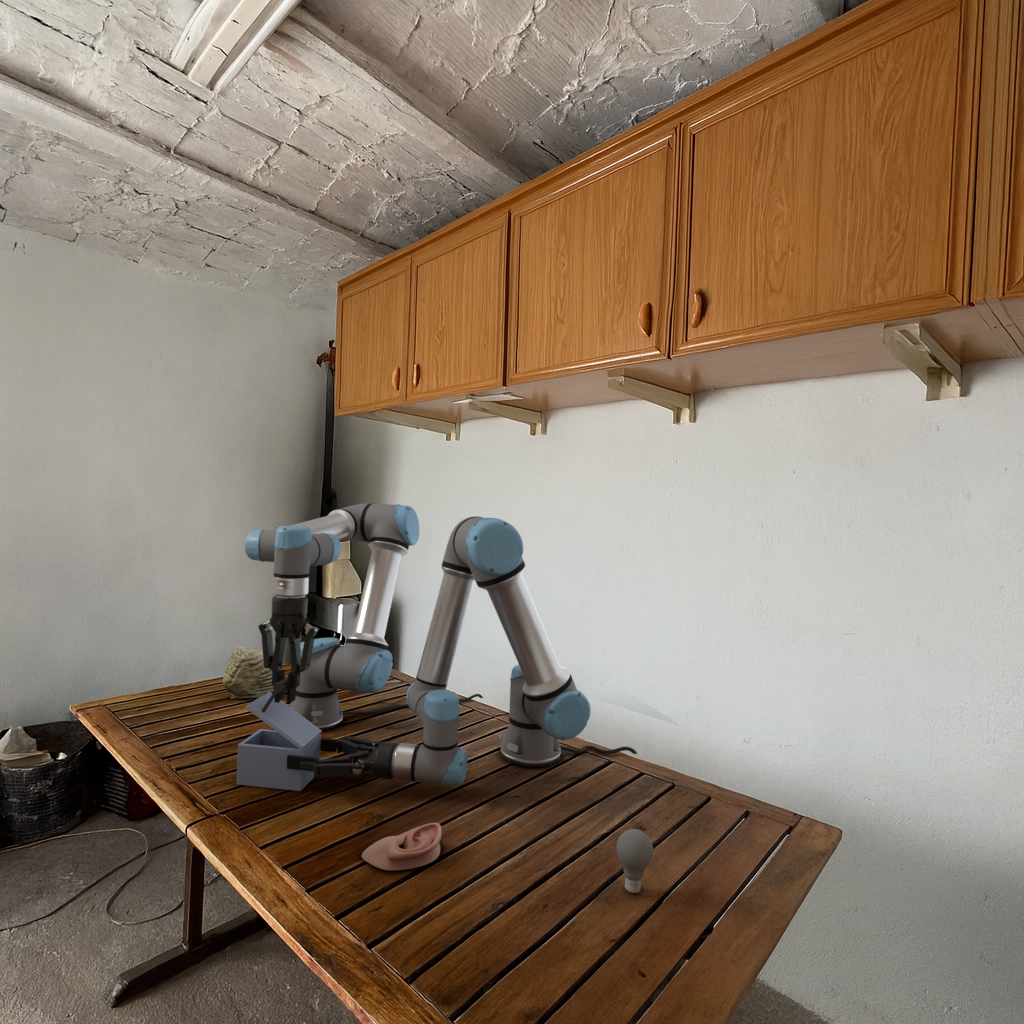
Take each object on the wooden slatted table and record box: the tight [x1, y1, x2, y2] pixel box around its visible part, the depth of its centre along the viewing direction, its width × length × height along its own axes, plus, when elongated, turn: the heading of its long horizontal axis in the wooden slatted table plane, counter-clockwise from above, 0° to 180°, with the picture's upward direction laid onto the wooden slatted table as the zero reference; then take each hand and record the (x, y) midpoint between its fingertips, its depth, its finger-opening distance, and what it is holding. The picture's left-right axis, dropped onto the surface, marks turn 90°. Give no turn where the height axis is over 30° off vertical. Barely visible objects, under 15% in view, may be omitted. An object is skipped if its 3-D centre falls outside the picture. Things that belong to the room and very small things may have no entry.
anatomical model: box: [361, 822, 443, 872], centre depth 114 cm, size 13×4×12 cm
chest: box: [236, 728, 322, 792], centre depth 142 cm, size 15×10×9 cm, turn 83°
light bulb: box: [615, 828, 654, 894], centre depth 106 cm, size 6×6×10 cm
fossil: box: [222, 646, 286, 699], centre depth 198 cm, size 9×18×15 cm, turn 132°
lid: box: [245, 676, 323, 750], centre depth 141 cm, size 15×10×8 cm
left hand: (284, 700), depth 141 cm, fingers closed on lid, 2 cm apart
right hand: (298, 752), depth 141 cm, fingers closed on chest, 10 cm apart
